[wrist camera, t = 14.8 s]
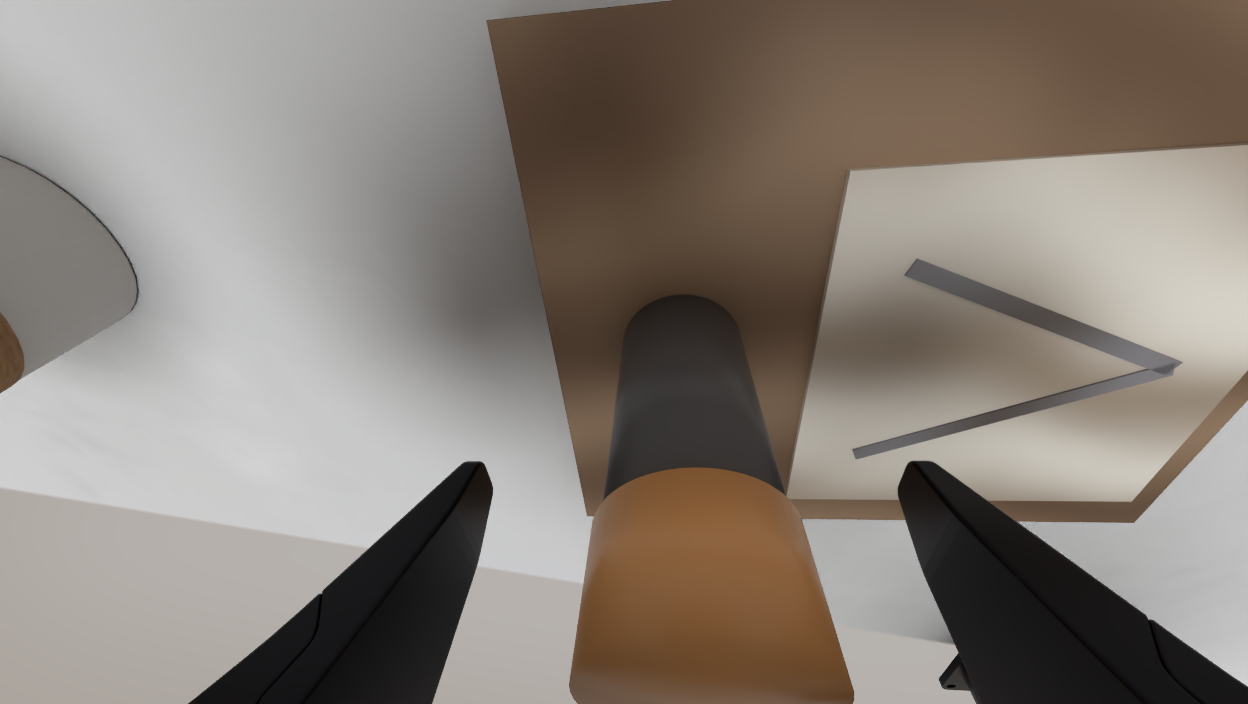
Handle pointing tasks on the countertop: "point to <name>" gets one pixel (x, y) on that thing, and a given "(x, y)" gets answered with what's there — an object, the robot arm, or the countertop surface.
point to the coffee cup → (53, 274)
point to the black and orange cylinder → (698, 536)
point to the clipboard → (905, 230)
